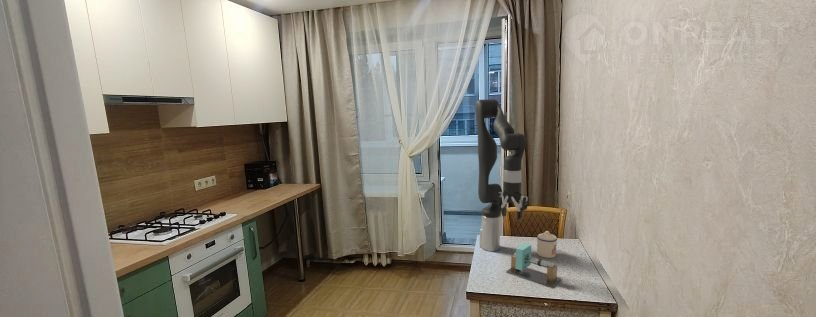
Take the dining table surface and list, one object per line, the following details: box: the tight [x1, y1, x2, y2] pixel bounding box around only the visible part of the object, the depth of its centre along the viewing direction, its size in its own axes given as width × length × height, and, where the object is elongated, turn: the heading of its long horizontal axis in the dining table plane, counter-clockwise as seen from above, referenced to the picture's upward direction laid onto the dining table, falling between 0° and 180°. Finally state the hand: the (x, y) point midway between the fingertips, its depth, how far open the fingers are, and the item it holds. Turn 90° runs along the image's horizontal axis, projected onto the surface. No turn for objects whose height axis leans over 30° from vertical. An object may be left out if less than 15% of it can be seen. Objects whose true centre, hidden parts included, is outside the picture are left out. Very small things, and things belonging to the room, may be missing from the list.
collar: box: [515, 243, 532, 270], centre depth 155 cm, size 3×8×9 cm, turn 135°
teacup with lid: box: [536, 230, 558, 259], centre depth 176 cm, size 12×9×12 cm
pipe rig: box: [506, 251, 562, 289], centre depth 153 cm, size 20×9×8 cm, turn 45°
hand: (511, 217), depth 157 cm, fingers open, 6 cm apart
